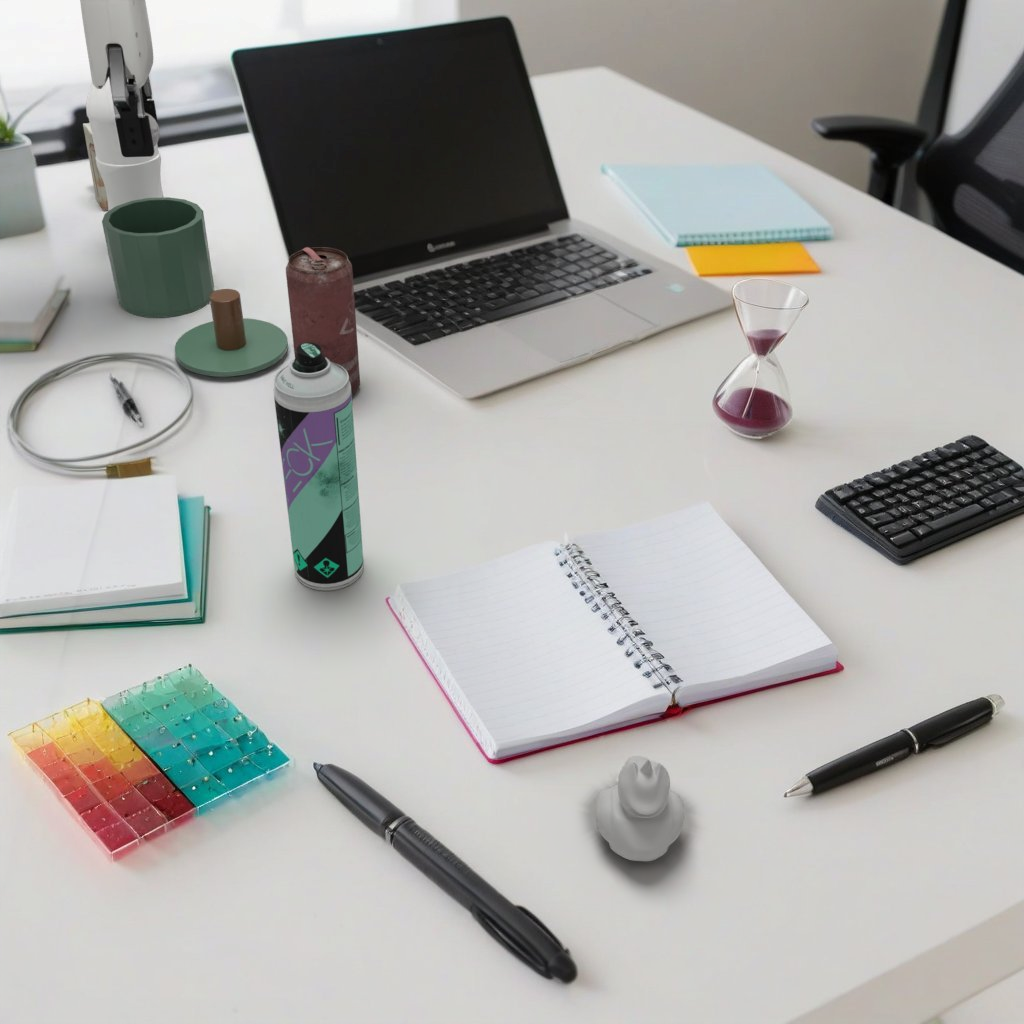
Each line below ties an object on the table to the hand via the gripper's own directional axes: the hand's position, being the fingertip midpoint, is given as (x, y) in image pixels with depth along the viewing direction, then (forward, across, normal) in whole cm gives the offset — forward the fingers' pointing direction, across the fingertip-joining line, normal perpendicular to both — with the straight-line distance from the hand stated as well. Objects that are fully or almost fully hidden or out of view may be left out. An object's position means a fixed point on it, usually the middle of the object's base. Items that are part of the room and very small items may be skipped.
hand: (141, 145), depth 120 cm
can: (+17, +22, +18) cm, 33 cm away
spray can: (+17, +50, +18) cm, 56 cm away
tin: (+17, 0, 0) cm, 17 cm away
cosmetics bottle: (+17, -28, -9) cm, 34 cm away
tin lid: (+16, +14, +8) cm, 23 cm away
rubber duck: (+17, +78, +37) cm, 88 cm away
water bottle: (+17, -13, -4) cm, 22 cm away
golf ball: (+1, 0, 0) cm, 1 cm away
